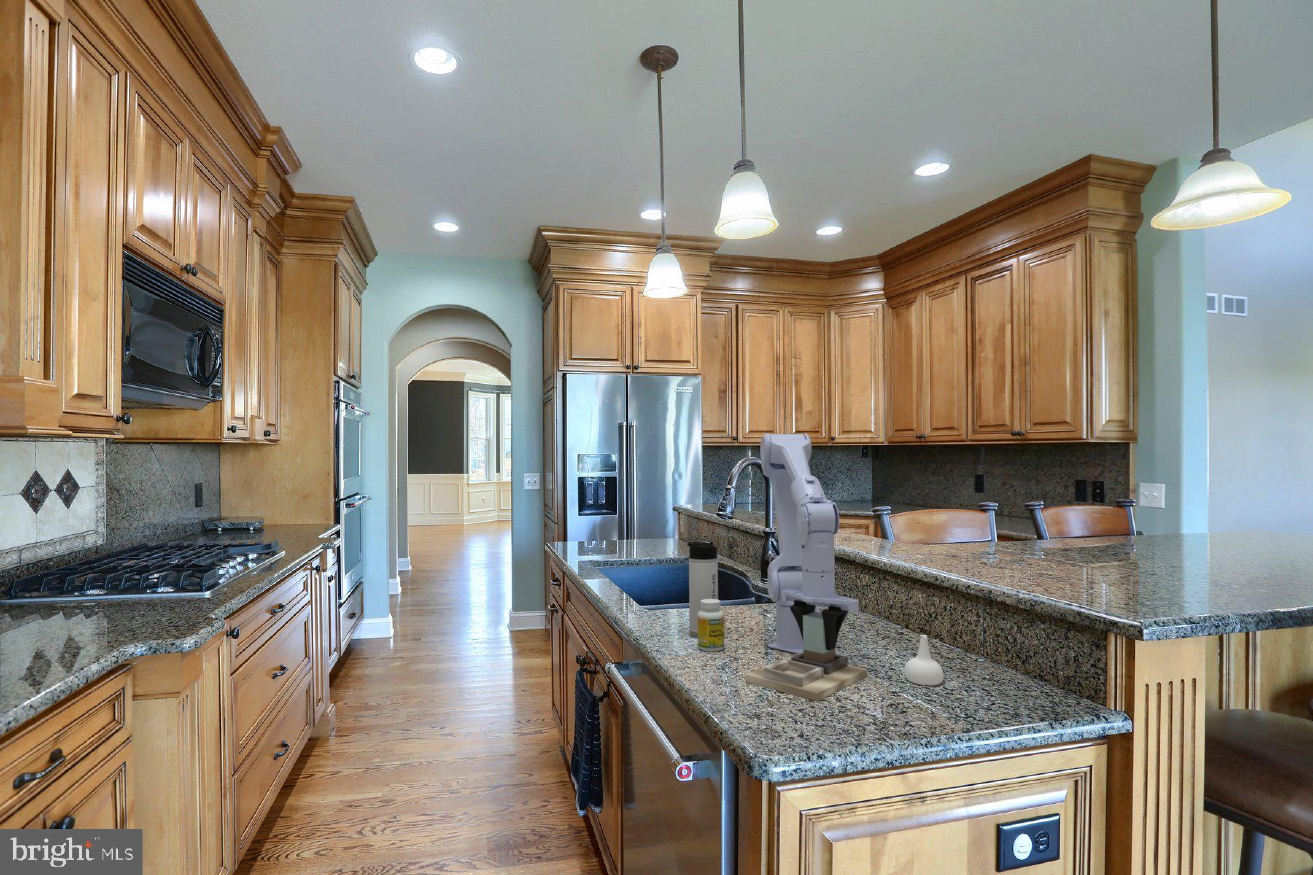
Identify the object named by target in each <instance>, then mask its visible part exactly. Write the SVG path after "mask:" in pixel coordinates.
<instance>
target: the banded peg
mask: <svg viewBox="0 0 1313 875" xmlns="http://www.w3.org/2000/svg"><path fill="white" fill-rule="evenodd" d="M835 655H836V648H835V649H833V650H830V651H829V650H826V644H825V626H824V621H823V617H822V613H821V612H820V613H819V612H812V613H809V614H806V615H803V657H804V659H805V660H809V661H813V662H817V663H822V664H827V663H830V662H832V661H834V660H835Z"/></svg>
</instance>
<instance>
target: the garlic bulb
mask: <svg viewBox="0 0 1313 875" xmlns="http://www.w3.org/2000/svg"><path fill="white" fill-rule="evenodd" d="M919 636H920V640H919V646H918V652H917V655H916V656H915V657H913V658H911V659H909V660H908V661H906V663H905V665H904V666H903V667H904V668H903V674H904V675H903V676H904V677H905V679H906V680H907V681H909V682H911V683H913V684H915V685H919V686H925V687H926V685H927V687H928V686H929V687H930V686H932V687H933V685H934V686H938V685H941V683H943V681H944V676H945V675H944V671H943V668H942V666H941V665H940V664H939V663H938V662H937V661H935V660H934V659H933V658H932V656H931V652H930V648H929V647H930V646H929V641H928V635H926V634H920V635H919Z"/></svg>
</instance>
